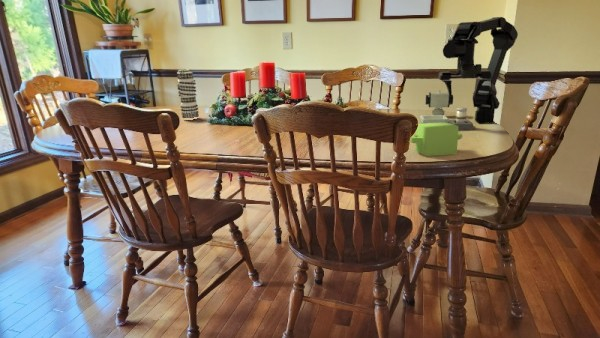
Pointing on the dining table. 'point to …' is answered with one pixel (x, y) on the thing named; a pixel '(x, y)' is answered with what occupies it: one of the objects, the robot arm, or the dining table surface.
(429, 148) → the gearbox
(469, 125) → the grey square frame
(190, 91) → the decorative candle
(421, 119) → the parts tray
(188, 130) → the dining table surface
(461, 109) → the white light bulb
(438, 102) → the pneumatic valve
